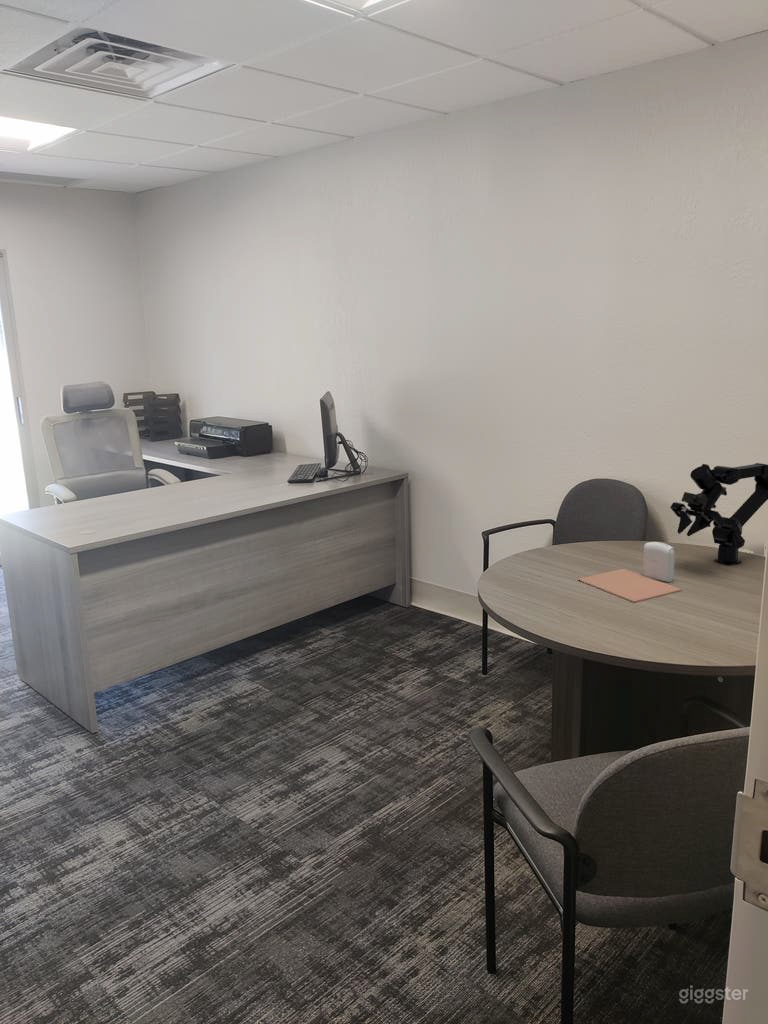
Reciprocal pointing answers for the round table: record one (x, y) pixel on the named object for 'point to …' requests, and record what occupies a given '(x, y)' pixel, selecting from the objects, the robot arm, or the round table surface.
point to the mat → (629, 585)
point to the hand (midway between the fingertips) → (682, 534)
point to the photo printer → (658, 561)
